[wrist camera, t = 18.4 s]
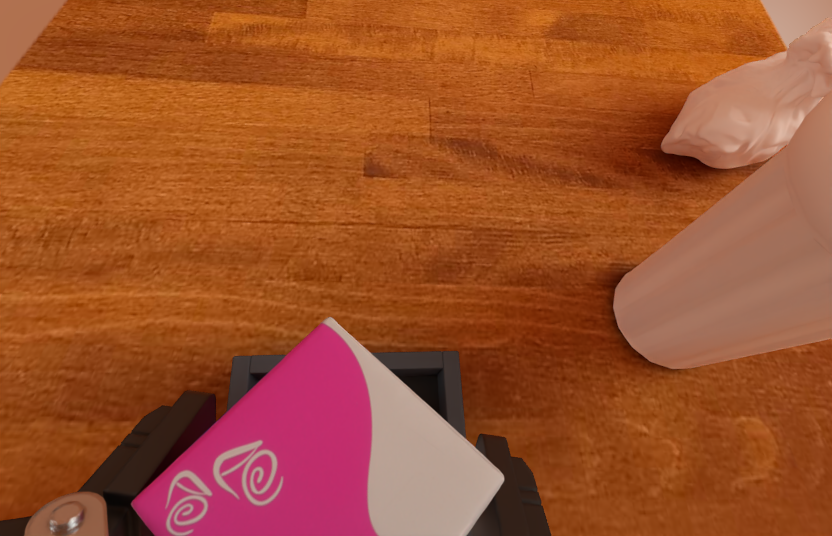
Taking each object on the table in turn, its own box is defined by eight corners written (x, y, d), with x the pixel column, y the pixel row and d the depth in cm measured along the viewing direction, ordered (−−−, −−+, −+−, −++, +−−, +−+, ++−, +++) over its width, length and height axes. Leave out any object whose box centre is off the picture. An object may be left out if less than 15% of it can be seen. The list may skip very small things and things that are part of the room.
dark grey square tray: (219, 621, 18) (197, 645, 16) (246, 367, 22) (232, 355, 20) (467, 599, 19) (481, 618, 17) (449, 361, 23) (458, 350, 21)
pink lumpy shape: (647, 199, 32) (853, 201, 22) (621, 97, 29) (842, 47, 19) (738, 130, 36) (948, 104, 26) (722, 34, 33) (950, -35, 23)
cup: (618, 233, 28) (840, 32, 15) (739, 295, 27) (1089, 140, 14) (574, 340, 25) (809, 204, 12) (711, 415, 24) (1131, 360, 11)
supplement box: (348, 384, 21) (334, 304, 11) (441, 475, 20) (525, 484, 10) (251, 484, 19) (116, 505, 9) (348, 592, 18) (327, 772, 7)
